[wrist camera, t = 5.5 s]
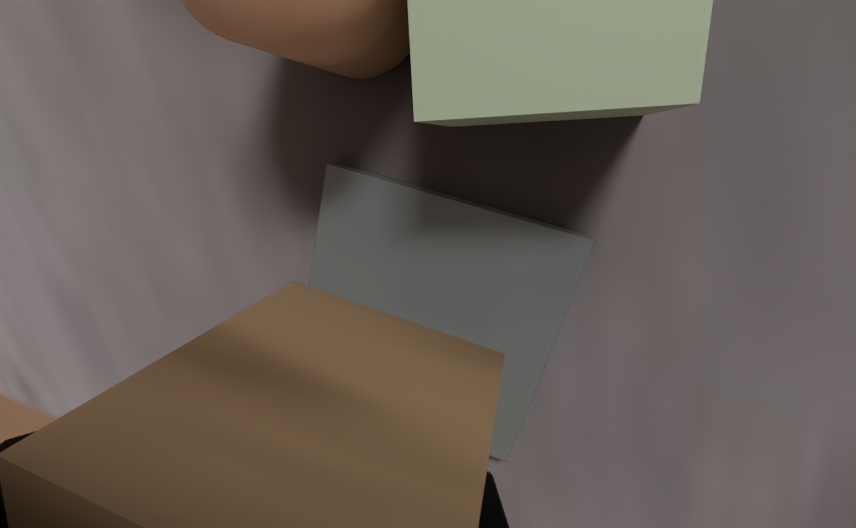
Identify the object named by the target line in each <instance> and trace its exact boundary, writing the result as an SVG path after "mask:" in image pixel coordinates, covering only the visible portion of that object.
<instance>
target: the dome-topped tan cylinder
mask: <svg viewBox="0 0 856 528" xmlns="http://www.w3.org/2000/svg"><path fill="white" fill-rule="evenodd" d="M181 1H182V2H183V4H184V5H185V7H186V8H187V9H188V11H189V12H190V13H191V14H192V15H193V16H194V17H195V18H196V19H197V20H198V21H199V22H200V23H201V24H202V25H204V26H205V27H206V28H207V29H209V30H210V31H212V32H213V33H215V34H216V35H218V36H221V37H223V38H225V39H227V40H230V41H233V42H237V43H240V44H243V45H246V46H249V47H253V48H256V49H259V50H262V51H265V52H268V53H272V54H275V55H278V56H281V57H284V58H288V59H291V60H294V61H297V62H300V63H304V64H307V65H310V66H313V67H316V68H320V69H323V70H326V71H329V72H332V73H335V74H339V75H342V76H345V77H349V78H355V79H367V78H372V77H376V76H379V75H382V74H384V73H386V72H388V71H390V70H391V69H393V68H394V67H395V66H397V65H398V64H399V63H400V62H401V61H402V60H403V59H404V58H405V57H406V56H407V55H408V54H409V52H410V39H409V21H408V2H407V0H181Z"/></svg>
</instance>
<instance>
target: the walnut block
mask: <svg viewBox="0 0 856 528" xmlns="http://www.w3.org/2000/svg"><path fill="white" fill-rule="evenodd" d="M504 356H505V354H504V353H501V352H498V351H496V350H493V349H490V348H487V347H484V346H481V345H478V344H475V343H472V342H469V341H466V340H464V339H461V338H458V337H455V336H452V335H449V334H446V333H443V332H440V331H437V330H434V329H432V328H429V327H426V326H423V325H420V324H417V323H414V322H411V321H408V320H405V319H402V318H399V317H397V316H394V315H391V314H388V313H385V312H382V311H379V310H376V309H373V308H370V307H367V306H365V305H362V304H359V303H356V302H353V301H350V300H347V299H344V298H341V297H338V296H335V295H333V294H330V293H327V292H324V291H321V290H318V289H315V288H312V287H309V286H306V285H303V284H300V283H298V282H295V281H293V282H291V283H289V284H287V285H286V286H284V287H282V288H281V289H279V290H277V291H275V292H274V293H272V294H270V295H269V296H267V297H265V298H263V299H262V300H260V301H258V302H257V303H255V304H253V305H251V306H250V307H248V308H246V309H245V310H243V311H241V312H240V313H238V314H236V315H234V316H233V317H231V318H229V319H228V320H226V321H224V322H222V323H221V324H219V325H217V326H216V327H214V328H212V329H210V330H209V331H207V332H205V333H204V334H202V335H200V336H198V337H197V338H195V339H193V340H192V341H190V342H188V343H187V344H185V345H183V346H181V347H180V348H178V349H176V350H175V351H173V352H171V353H169V354H168V355H166V356H164V357H163V358H161V359H159V360H157V361H156V362H154V363H152V364H151V365H149V366H147V367H145V368H144V369H142V370H140V371H139V372H137V373H135V374H134V375H132V376H130V377H128V378H127V379H125V380H123V381H122V382H120V383H118V384H116V385H115V386H113V387H111V388H110V389H108V390H106V391H104V392H103V393H101V394H99V395H98V396H96V397H94V398H92V399H91V400H89V401H87V402H86V403H84V404H82V405H81V406H79V407H77V408H75V409H74V410H72V411H70V412H69V413H67V414H65V415H63V416H62V417H60V418H58V419H57V420H55V421H53V422H51V423H50V424H48V425H46V426H45V427H43V428H42V429H39V430H38V431H36V432H34V433H33V434H31V435H29V436H28V437H26V438H24V439H22V440H21V441H19V442H17V443H16V444H14V445H12V446H10V447H9V448H7V449H5V450H4V451H2V452H0V483H1V488H2V494H3V499H4V505H5V511H6V516H7V522H8V527H9V528H478V525H479V519H480V512H481V506H482V499H483V493H484V486H485V480H486V473H487V467H488V460H489V454H490V447H491V441H492V434H493V428H494V421H495V415H496V408H497V402H498V395H499V389H500V382H501V376H502V369H503V362H504Z"/></svg>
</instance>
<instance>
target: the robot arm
mask: <svg viewBox="0 0 856 528" xmlns="http://www.w3.org/2000/svg"><path fill="white" fill-rule="evenodd" d="M35 432H36V431H35ZM33 433H34V432H31V433H28V434H25V435H21V436H18V437H14V438H11V439H8V440H5V441H4V442H2V444H0V452H2V451H4V450H5V449H7V448H9V447H10V446H12V445H14V444H16V443H17V442H19V441H21V440H22V439H24V438H26V437H28V436H29V435H31V434H33ZM0 528H9V527H8V522H7V516H6V511H5V505H4V499H3V494H2V488H1V483H0ZM478 528H509V525H508V522H507V519H506V516H505V513H504V510H503V506H502V503H501V500H500V497H499V494H498V491H497V488H496V484H495V481H494V478H493V476H492V474H491V473H490V472H488V471H487V473H486V480H485V486H484V493H483V499H482V506H481V512H480V519H479V525H478Z"/></svg>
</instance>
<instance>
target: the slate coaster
mask: <svg viewBox="0 0 856 528" xmlns="http://www.w3.org/2000/svg"><path fill="white" fill-rule="evenodd" d="M593 244H594V239H593V237H592V236H590V235H587V234H583V233H580V232H576V231H573V230H569V229H566V228H562V227H559V226H555V225H552V224H548V223H545V222H541V221H538V220H534V219H531V218H527V217H524V216H520V215H517V214H513V213H510V212H506V211H503V210H499V209H496V208H492V207H489V206H486V205H482V204H479V203H475V202H472V201H468V200H465V199H461V198H458V197H454V196H451V195H447V194H444V193H440V192H437V191H433V190H430V189H426V188H423V187H419V186H416V185H412V184H409V183H405V182H402V181H398V180H395V179H391V178H388V177H384V176H381V175H377V174H374V173H370V172H367V171H363V170H360V169H356V168H353V167H349V166H346V165H342V164H339V163H329V164H327V165H326V172H325V179H324V185H323V192H322V199H321V206H320V213H319V219H318V226H317V233H316V240H315V247H314V253H313V260H312V267H311V274H310V281H309V287H312V288H315V289H318V290H321V291H324V292H327V293H330V294H333V295H335V296H338V297H341V298H344V299H347V300H350V301H353V302H356V303H359V304H362V305H365V306H367V307H370V308H373V309H376V310H379V311H382V312H385V313H388V314H391V315H394V316H397V317H399V318H402V319H405V320H408V321H411V322H414V323H417V324H420V325H423V326H426V327H429V328H432V329H434V330H437V331H440V332H443V333H446V334H449V335H452V336H455V337H458V338H461V339H464V340H466V341H469V342H472V343H475V344H478V345H481V346H484V347H487V348H490V349H493V350H496V351H498V352H501V353H504V354H505V356H504V362H503V369H502V376H501V382H500V389H499V395H498V402H497V408H496V415H495V421H494V428H493V434H492V441H491V447H490V454H489V456H492V457H494V458H497V459H500V460H502V461H505V462H507V459H508V457H509V454H510V452H511V449H512V447H513V444H514V442H515V439H516V437H517V434H518V432H519V429H520V427H521V424H522V422H523V419H524V417H525V414H526V412H527V409H528V407H529V404H530V402H531V399H532V397H533V394H534V392H535V389H536V387H537V384H538V382H539V379H540V377H541V374H542V372H543V369H544V367H545V364H546V362H547V359H548V356H549V354H550V351H551V349H552V346H553V344H554V341H555V339H556V336H557V334H558V331H559V329H560V326H561V324H562V321H563V319H564V316H565V314H566V311H567V309H568V306H569V304H570V301H571V299H572V296H573V294H574V291H575V289H576V286H577V284H578V281H579V279H580V276H581V274H582V271H583V269H584V266H585V264H586V261H587V259H588V256H589V254H590V251H591V249H592V246H593Z"/></svg>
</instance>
